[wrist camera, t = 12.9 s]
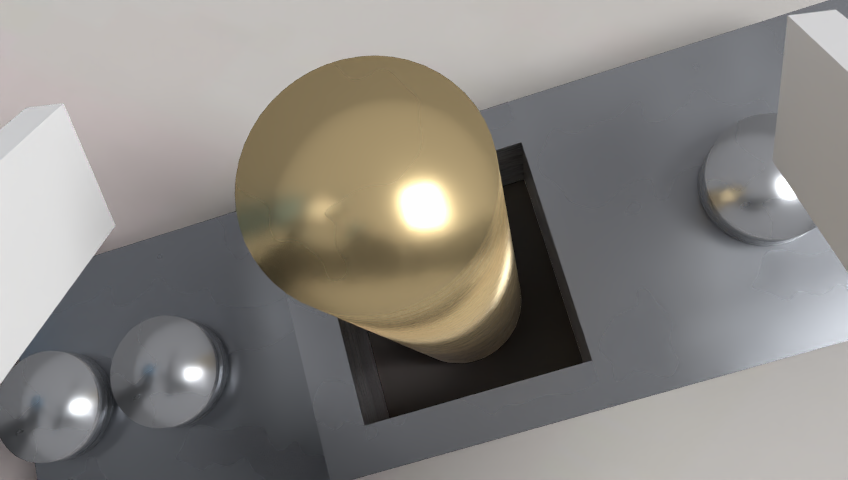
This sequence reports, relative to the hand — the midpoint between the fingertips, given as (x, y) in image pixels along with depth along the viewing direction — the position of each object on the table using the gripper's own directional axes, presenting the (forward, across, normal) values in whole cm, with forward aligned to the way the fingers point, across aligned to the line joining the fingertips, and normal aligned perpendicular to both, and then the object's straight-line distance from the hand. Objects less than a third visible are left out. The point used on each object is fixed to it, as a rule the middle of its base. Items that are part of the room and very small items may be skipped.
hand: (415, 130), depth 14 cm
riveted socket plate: (+3, 0, -6) cm, 7 cm away
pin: (+3, 0, -6) cm, 7 cm away
